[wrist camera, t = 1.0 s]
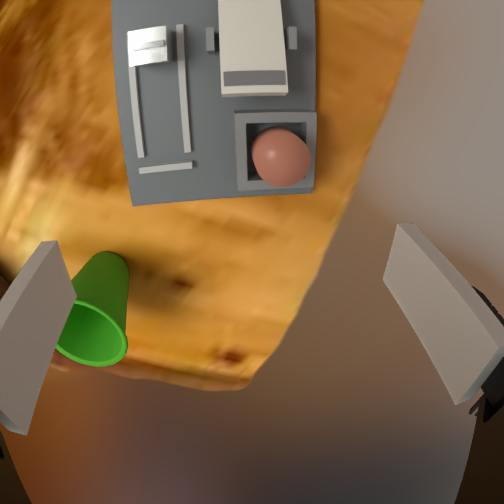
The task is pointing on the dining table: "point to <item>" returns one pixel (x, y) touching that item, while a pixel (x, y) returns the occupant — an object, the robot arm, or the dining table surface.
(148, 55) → the slider knob
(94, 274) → the cup
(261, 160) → the round button
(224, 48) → the paddle
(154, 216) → the dining table surface
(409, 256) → the robot arm
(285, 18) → the panel
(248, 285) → the dining table surface
